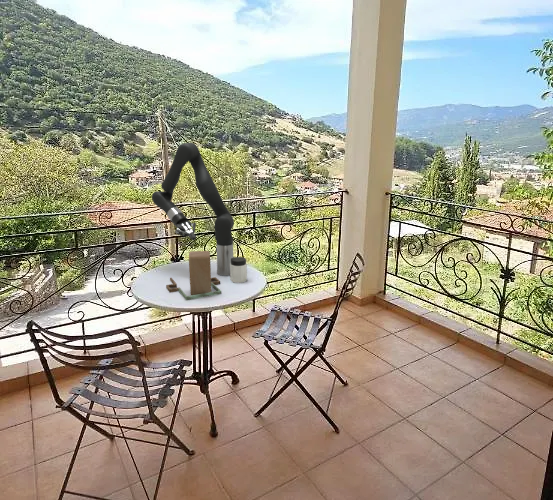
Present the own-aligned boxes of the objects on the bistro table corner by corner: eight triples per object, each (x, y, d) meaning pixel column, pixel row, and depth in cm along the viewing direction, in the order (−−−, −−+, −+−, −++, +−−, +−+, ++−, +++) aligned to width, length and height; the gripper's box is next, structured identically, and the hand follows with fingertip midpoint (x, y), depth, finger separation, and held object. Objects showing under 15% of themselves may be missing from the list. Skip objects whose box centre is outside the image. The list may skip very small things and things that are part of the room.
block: (211, 295, 189) (210, 255, 184) (190, 296, 187) (188, 256, 182) (210, 287, 199) (209, 250, 193) (190, 289, 197) (188, 250, 191)
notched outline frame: (209, 274, 218) (209, 271, 218) (229, 292, 193) (229, 289, 193) (161, 281, 206) (161, 279, 205) (176, 302, 181) (176, 298, 180)
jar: (248, 281, 208) (248, 260, 204) (234, 284, 204) (234, 262, 201) (242, 276, 215) (242, 255, 212) (228, 278, 212) (228, 257, 209)
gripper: (166, 216, 206) (184, 238, 200) (188, 208, 214) (206, 230, 208) (165, 225, 211) (183, 247, 205) (186, 218, 219) (204, 239, 213)
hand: (194, 239), depth 207 cm, fingers closed
